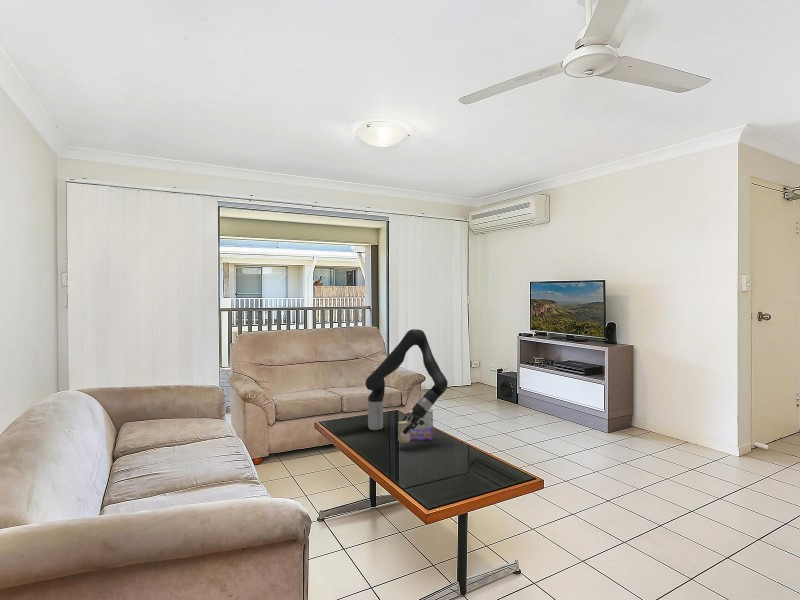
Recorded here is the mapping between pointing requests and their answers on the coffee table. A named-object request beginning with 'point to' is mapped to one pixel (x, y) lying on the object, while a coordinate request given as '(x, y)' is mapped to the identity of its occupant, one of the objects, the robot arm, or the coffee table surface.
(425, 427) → the candy box
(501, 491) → the coffee table surface
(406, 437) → the birch block
